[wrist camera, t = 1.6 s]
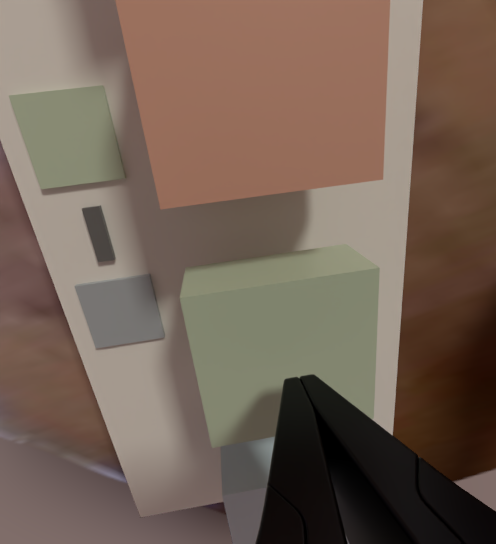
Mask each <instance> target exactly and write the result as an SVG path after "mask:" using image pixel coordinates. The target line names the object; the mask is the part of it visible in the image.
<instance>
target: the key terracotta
mask: <svg viewBox="0 0 496 544" xmlns="http://www.w3.org/2000/svg"><path fill="white" fill-rule="evenodd" d="M115 1H116V6H117V11H118V15H119V20H120V25H121V29H122V34H123V38H124V43H125V48H126V52H127V57H128V62H129V66H130V71H131V75H132V80H133V85H134V89H135V94H136V99H137V103H138V108H139V112H140V117H141V122H142V126H143V131H144V136H145V140H146V145H147V150H148V154H149V159H150V163H151V168H152V173H153V177H154V182H155V187H156V191H157V196H158V200H159V205H160V210H161V209H168V208H176V207H183V206H190V205H198V204H205V203H213V202H220V201H228V200H235V199H242V198H250V197H257V196H265V195H272V194H280V193H287V192H294V191H302V190H309V189H317V188H324V187H332V186H339V185H346V184H354V183H361V182H369V181H376V180H383V171H384V146H385V121H386V95H387V70H388V45H389V19H390V0H115Z"/></svg>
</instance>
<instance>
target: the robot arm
mask: <svg viewBox="0 0 496 544" xmlns="http://www.w3.org/2000/svg"><path fill="white" fill-rule="evenodd" d="M267 486H268V487H267V488H266V494H265V500H264V506H263V511H262V516H261V521H260V526H259V531H258V534H257V538H256V542H255V544H348V543H347V539H348V542H349V544H496V511H494V510H493V509H491V508H490V507H488V506H487V505H485V504H484V503H482V502H481V501H479V500H478V499H476V498H475V497H474V496H472V495H471V494H469V493H468V492H466V491H465V490H463V489H462V488H461V487H459V486H458V485H456V484H455V483H454V482H452V481H451V480H450V479H448V478H447V477H446V476H444V475H443V474H442V473H440V472H439V471H438V470H436V469H435V468H434V467H433V466H431V465H430V464H429V463H427V462H426V461H425V460H424V459H422V458H421V457H419V458H418V455H417V454H416V453H414V452H413V451H412V450H411V449H409V448H408V447H407V446H405V445H404V444H403V443H402V442H400V441H399V440H398V439H396V438H395V437H394V436H393V435H391V434H390V433H389V432H387V431H386V430H385V429H384V428H382V427H381V426H380V425H379V424H377V423H376V422H375V421H373V420H372V419H371V418H370V417H368V416H367V415H366V414H364V413H363V412H362V411H361V410H359V409H358V408H357V407H355V406H354V405H353V404H352V403H350V402H349V401H348V400H347V399H345V398H344V397H343V396H341V395H340V394H339V393H338V392H336V391H335V390H334V389H332V388H331V387H330V386H329V385H327V384H326V383H325V382H323V381H322V380H321V379H320V378H318V377H317V376H316V375H314V374H309V375H304V376H300V378H298V377H292V378H286V379H285V380H284V383H283V389H282V395H281V402H280V408H279V414H278V420H277V427H276V433H275V439H274V445H273V452H272V458H271V464H270V470H269V477H268V483H267ZM345 534H346V535H345ZM346 537H347V539H346Z"/></svg>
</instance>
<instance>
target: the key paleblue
mask: <svg viewBox="0 0 496 544" xmlns="http://www.w3.org/2000/svg"><path fill="white" fill-rule="evenodd" d="M274 439H275V437H270V438H264V439H259V440H253V441H248V442H242V443H237V444H231V445H226V446H220V447H221V474H222V497H223V501H224V506H225V511H226V515H227V520H228V525H229V529H230V534H231V538H232V543H233V544H255V542H256V538H257V534H258V531H259V526H260V521H261V516H262V511H263V506H264V500H265V494H266V488H267V487H268V486H267V483H268V477H269V470H270V464H271V458H272V452H273V445H274ZM345 535H346V534H345ZM346 539H347V537H346ZM347 543H348V544H349V542H348V539H347Z"/></svg>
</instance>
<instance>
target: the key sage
mask: <svg viewBox="0 0 496 544" xmlns="http://www.w3.org/2000/svg"><path fill="white" fill-rule="evenodd" d="M379 273H380V268H379V267H378V266H377V265H375V264H374V263H372V262H371V261H370V260H368V259H367V258H365V257H364V256H362V255H361V254H360V253H358V252H357V251H355V250H354V249H352V248H351V247H350V246H348V245H347V244H342V245H335V246H328V247H322V248H315V249H308V250H301V251H294V252H288V253H281V254H274V255H267V256H260V257H253V258H247V259H240V260H233V261H226V262H219V263H212V264H206V265H199V266H192V267H186V268H185V273H184V278H183V283H182V288H181V294H180V302H181V307H182V312H183V316H184V321H185V325H186V330H187V335H188V339H189V344H190V349H191V353H192V358H193V363H194V367H195V372H196V376H197V381H198V386H199V390H200V395H201V400H202V404H203V409H204V413H205V418H206V423H207V427H208V432H209V437H210V441H211V446H212V448H215V447H220V446H226V445H231V444H237V443H242V442H248V441H253V440H259V439H264V438H270V437H275V433H276V427H277V420H278V414H279V408H280V402H281V395H282V389H283V383H284V380H285V379H286V378H292V377H298V378H300V376H304V375H309V374H314V375H316V376H317V377H318V378H320V379H321V380H322V381H323V382H325V383H326V384H327V385H329V386H330V387H331V388H332V389H334V390H335V391H336V392H338V393H339V394H340V395H341V396H343V397H344V398H345V399H347V400H348V401H349V402H350V403H352V404H353V405H354V406H355V407H357V408H358V409H359V410H361V411H362V412H363V413H364V414H366V415H367V416H368V417H370V418H371V419H374V400H375V374H376V349H377V324H378V298H379Z"/></svg>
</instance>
